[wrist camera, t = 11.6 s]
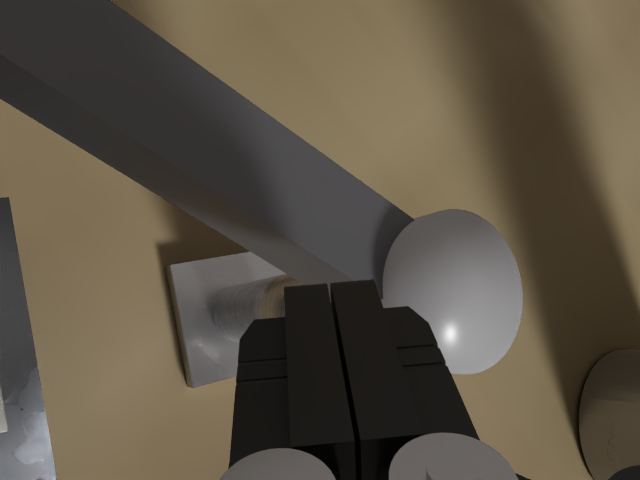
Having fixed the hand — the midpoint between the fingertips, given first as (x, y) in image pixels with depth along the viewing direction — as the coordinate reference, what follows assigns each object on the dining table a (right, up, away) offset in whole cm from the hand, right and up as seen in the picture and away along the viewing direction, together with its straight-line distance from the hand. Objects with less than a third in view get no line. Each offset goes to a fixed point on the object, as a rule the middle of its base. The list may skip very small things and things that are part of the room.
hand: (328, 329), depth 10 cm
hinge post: (-4, -2, +15) cm, 16 cm away
